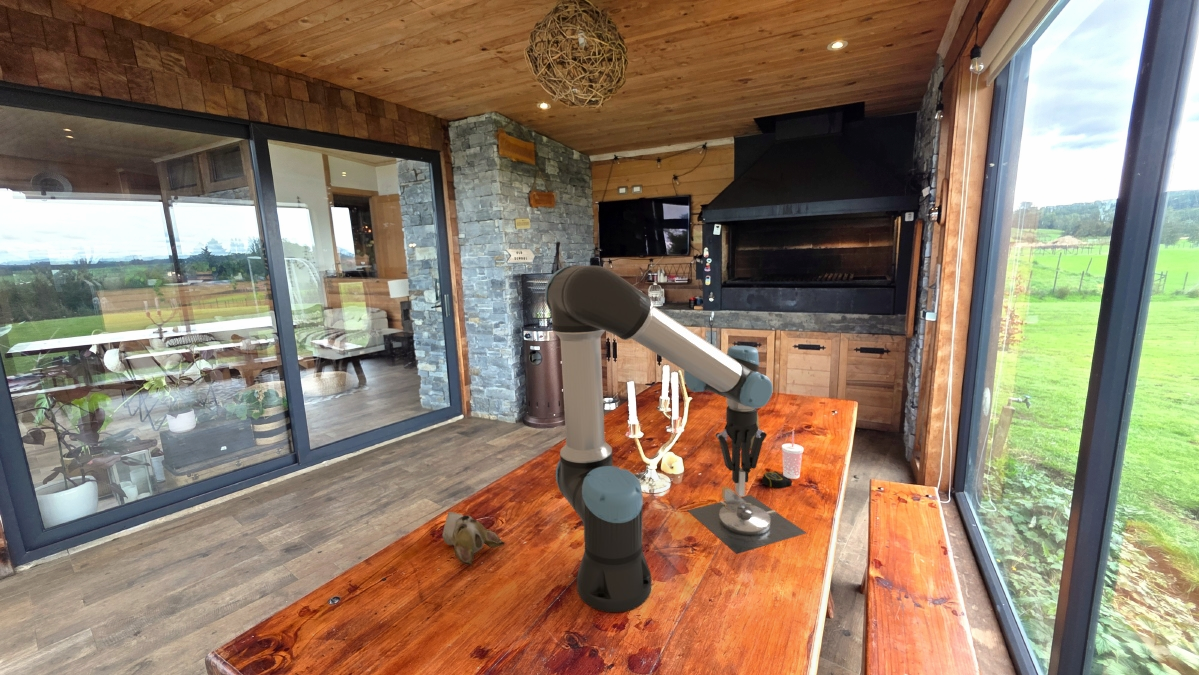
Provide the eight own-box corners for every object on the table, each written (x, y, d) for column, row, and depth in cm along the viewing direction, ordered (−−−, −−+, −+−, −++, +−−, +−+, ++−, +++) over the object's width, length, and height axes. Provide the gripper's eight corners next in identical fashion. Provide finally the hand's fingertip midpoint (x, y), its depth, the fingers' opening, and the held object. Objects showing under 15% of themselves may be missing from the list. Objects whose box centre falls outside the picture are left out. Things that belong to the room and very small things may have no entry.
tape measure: (792, 491, 134) (793, 479, 134) (772, 495, 132) (772, 482, 132) (776, 481, 141) (777, 469, 140) (757, 484, 139) (757, 472, 138)
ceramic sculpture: (467, 496, 117) (506, 519, 108) (469, 527, 119) (507, 553, 110) (428, 514, 109) (466, 541, 100) (430, 548, 111) (468, 577, 102)
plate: (736, 560, 104) (736, 551, 104) (687, 515, 123) (687, 508, 122) (806, 538, 111) (807, 530, 111) (750, 499, 130) (750, 492, 129)
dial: (780, 529, 113) (781, 512, 112) (735, 538, 109) (736, 520, 109) (744, 499, 127) (744, 483, 127) (703, 506, 124) (704, 490, 123)
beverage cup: (796, 481, 140) (798, 436, 137) (776, 475, 144) (778, 431, 142) (806, 475, 143) (808, 431, 141) (786, 469, 148) (788, 426, 146)
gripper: (759, 401, 125) (757, 484, 129) (711, 404, 123) (710, 488, 127) (773, 409, 117) (770, 498, 121) (722, 413, 116) (721, 502, 120)
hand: (739, 493), depth 124 cm, fingers closed
